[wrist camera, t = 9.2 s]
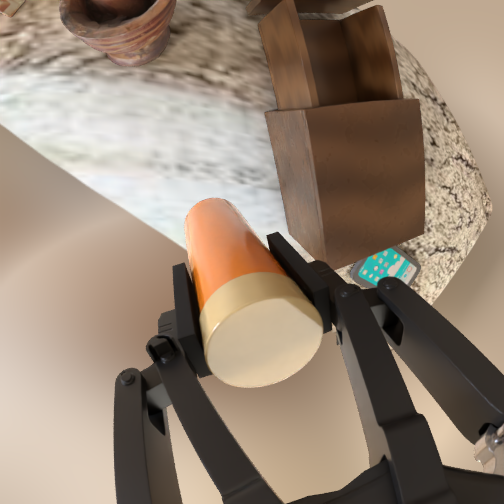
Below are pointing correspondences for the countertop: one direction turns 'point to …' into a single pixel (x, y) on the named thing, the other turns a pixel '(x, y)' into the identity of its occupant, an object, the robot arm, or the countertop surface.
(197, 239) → the spice jar
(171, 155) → the countertop surface
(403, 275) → the smartphone
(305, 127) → the cabinet
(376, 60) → the drawer
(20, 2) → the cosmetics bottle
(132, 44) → the mortar and pestle
